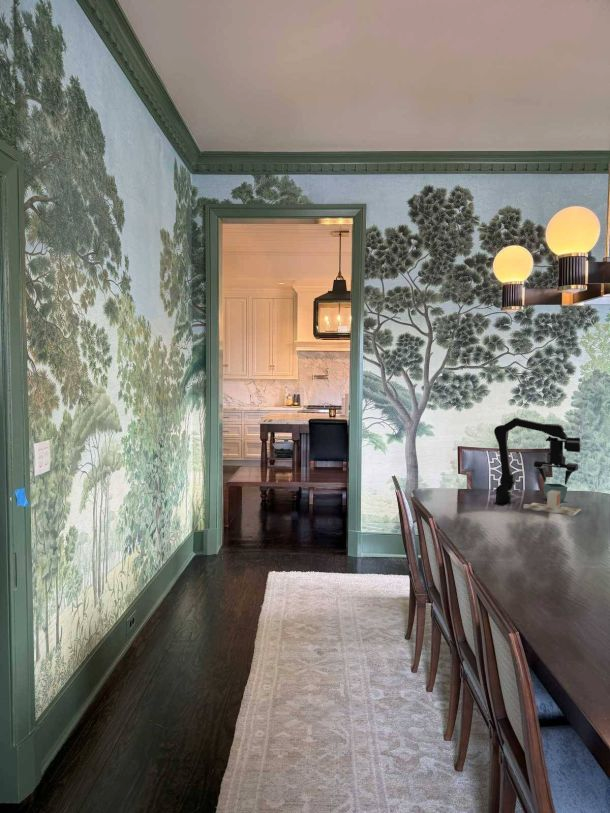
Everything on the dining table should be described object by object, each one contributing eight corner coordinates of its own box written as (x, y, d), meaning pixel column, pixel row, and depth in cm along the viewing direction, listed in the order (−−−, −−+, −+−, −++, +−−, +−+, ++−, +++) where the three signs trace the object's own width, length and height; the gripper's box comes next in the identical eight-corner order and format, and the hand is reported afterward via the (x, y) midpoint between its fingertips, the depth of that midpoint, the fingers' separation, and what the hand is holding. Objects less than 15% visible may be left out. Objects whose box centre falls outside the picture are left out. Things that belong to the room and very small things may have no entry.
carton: (546, 508, 260) (547, 492, 259) (551, 506, 265) (551, 489, 265) (556, 510, 257) (557, 493, 257) (560, 507, 263) (560, 491, 262)
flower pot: (567, 504, 273) (568, 486, 273) (549, 504, 274) (550, 486, 273) (559, 500, 282) (560, 483, 282) (542, 500, 282) (542, 483, 282)
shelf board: (523, 510, 261) (523, 504, 260) (533, 504, 273) (533, 498, 273) (573, 518, 247) (573, 511, 247) (581, 511, 259) (581, 505, 259)
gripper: (581, 450, 261) (580, 483, 261) (540, 447, 272) (540, 478, 273) (575, 453, 252) (574, 486, 253) (533, 449, 264) (533, 481, 265)
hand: (555, 483), depth 261 cm, fingers open, 9 cm apart
